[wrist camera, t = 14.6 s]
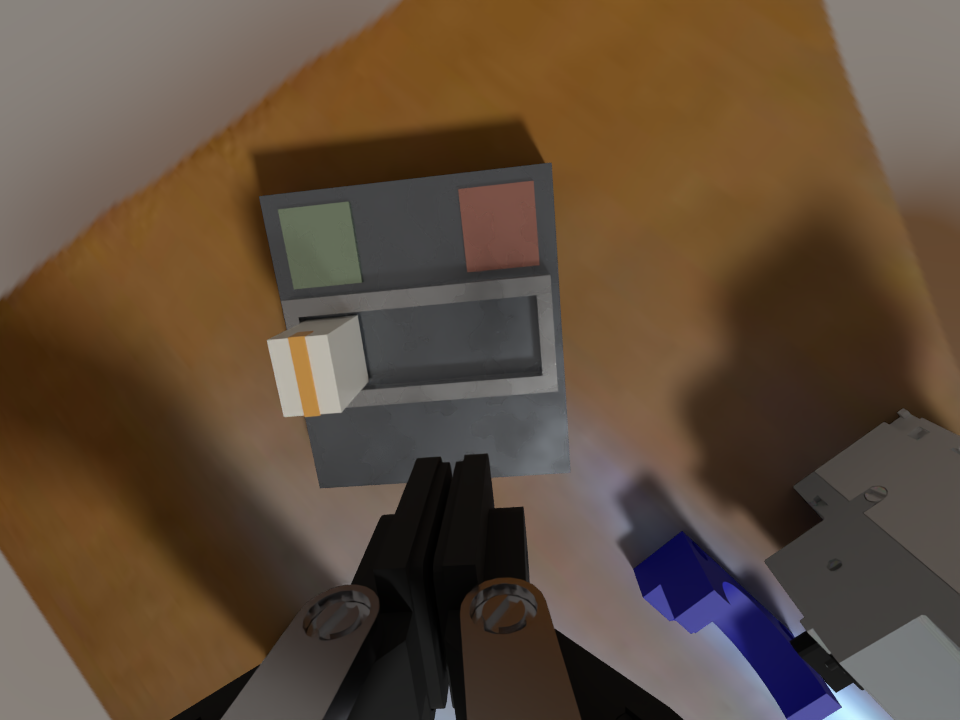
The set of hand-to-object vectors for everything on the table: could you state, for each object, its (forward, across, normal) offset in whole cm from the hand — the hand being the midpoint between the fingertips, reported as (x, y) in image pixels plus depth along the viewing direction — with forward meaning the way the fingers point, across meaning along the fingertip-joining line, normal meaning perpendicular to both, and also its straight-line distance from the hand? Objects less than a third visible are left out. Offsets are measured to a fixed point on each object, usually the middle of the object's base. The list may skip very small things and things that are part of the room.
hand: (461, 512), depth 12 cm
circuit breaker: (+21, -22, +15) cm, 34 cm away
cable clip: (+22, -14, +22) cm, 34 cm away
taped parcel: (+18, +9, 0) cm, 20 cm away
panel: (+21, +4, 0) cm, 21 cm away
